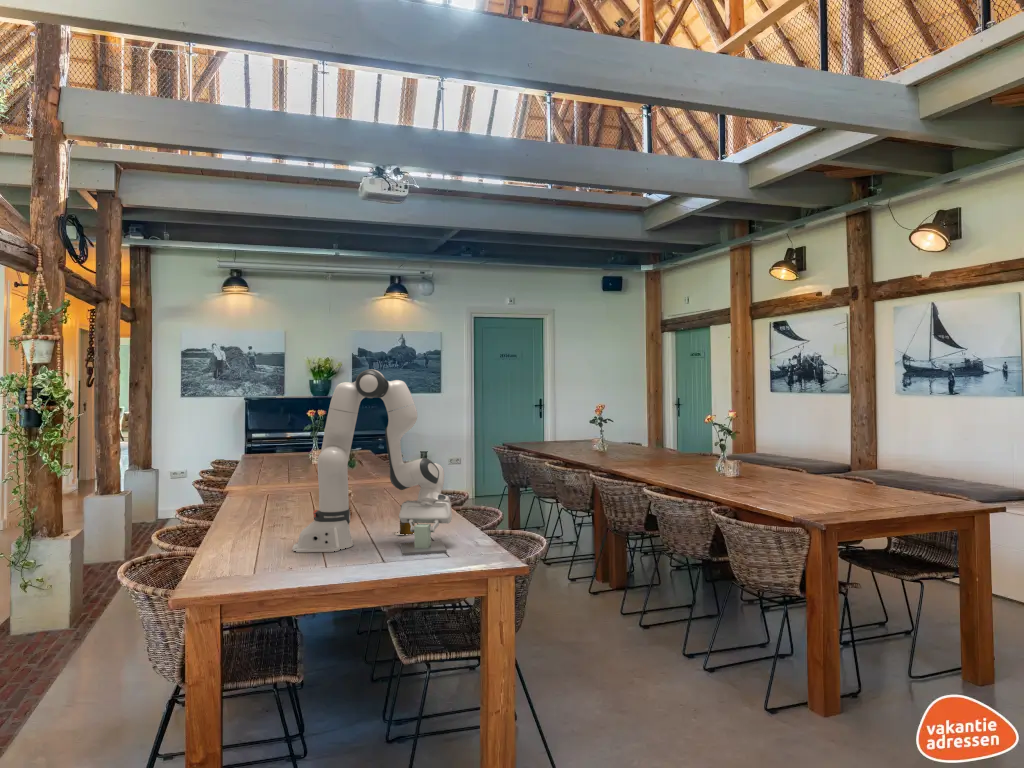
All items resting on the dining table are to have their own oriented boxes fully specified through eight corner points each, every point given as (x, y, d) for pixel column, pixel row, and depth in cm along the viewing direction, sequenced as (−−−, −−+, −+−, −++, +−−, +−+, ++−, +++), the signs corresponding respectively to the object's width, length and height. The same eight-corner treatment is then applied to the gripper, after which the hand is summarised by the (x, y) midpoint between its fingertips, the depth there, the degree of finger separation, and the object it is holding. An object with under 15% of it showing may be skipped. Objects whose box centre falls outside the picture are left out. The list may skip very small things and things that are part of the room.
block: (414, 547, 258) (414, 526, 258) (418, 544, 263) (417, 523, 263) (427, 548, 258) (427, 526, 258) (430, 545, 263) (430, 524, 263)
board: (402, 555, 251) (402, 552, 251) (400, 545, 267) (400, 543, 267) (446, 552, 254) (446, 550, 254) (441, 543, 270) (441, 540, 270)
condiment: (418, 534, 287) (417, 505, 287) (399, 536, 282) (399, 507, 282) (410, 531, 293) (410, 502, 293) (392, 533, 288) (391, 505, 288)
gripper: (401, 495, 269) (393, 526, 259) (452, 496, 266) (446, 527, 256) (404, 505, 273) (397, 535, 263) (455, 506, 270) (449, 536, 261)
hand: (422, 531), depth 260 cm, fingers open, 6 cm apart
